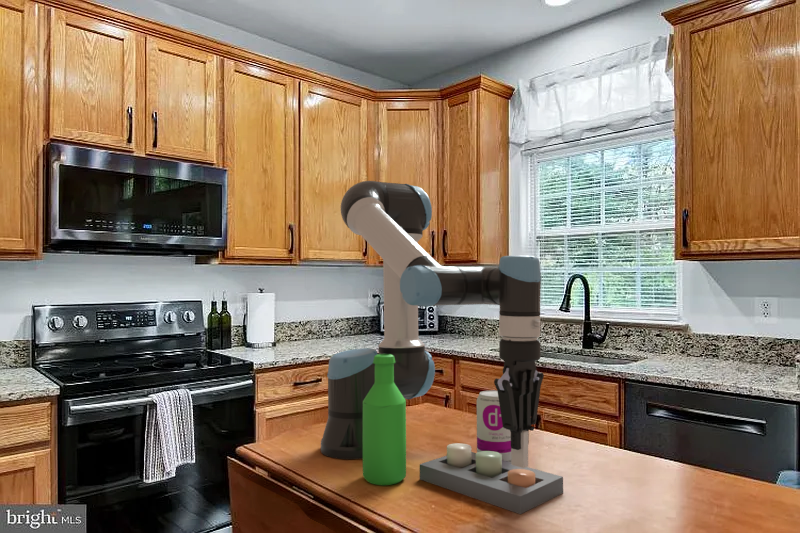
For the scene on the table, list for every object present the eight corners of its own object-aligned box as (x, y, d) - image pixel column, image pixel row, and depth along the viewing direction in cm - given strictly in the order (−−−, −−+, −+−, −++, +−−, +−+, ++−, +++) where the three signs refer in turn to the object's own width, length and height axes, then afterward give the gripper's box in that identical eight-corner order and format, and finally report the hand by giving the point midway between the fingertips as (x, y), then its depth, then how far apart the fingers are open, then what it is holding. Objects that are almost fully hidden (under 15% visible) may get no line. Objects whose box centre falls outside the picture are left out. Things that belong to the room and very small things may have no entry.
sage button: (470, 472, 110) (470, 454, 110) (486, 466, 113) (486, 449, 113) (491, 479, 106) (491, 460, 106) (507, 472, 110) (506, 454, 110)
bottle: (373, 490, 108) (373, 358, 108) (355, 476, 115) (355, 353, 116) (414, 482, 112) (413, 355, 112) (394, 469, 119) (393, 351, 120)
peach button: (502, 492, 104) (502, 473, 104) (517, 485, 108) (517, 467, 108) (525, 499, 101) (525, 479, 101) (540, 492, 104) (540, 473, 104)
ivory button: (441, 464, 115) (441, 446, 115) (457, 458, 119) (457, 441, 119) (460, 469, 111) (460, 451, 112) (476, 464, 115) (476, 446, 115)
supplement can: (514, 468, 119) (514, 397, 120) (475, 466, 121) (475, 396, 122) (514, 457, 127) (514, 390, 128) (478, 455, 129) (477, 389, 130)
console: (419, 479, 113) (419, 464, 113) (464, 463, 123) (464, 449, 123) (520, 514, 96) (520, 496, 96) (563, 492, 106) (563, 476, 106)
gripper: (516, 342, 98) (516, 479, 97) (556, 337, 107) (556, 462, 106) (482, 339, 103) (481, 468, 103) (522, 334, 112) (522, 453, 112)
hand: (519, 465), depth 105 cm, fingers closed
